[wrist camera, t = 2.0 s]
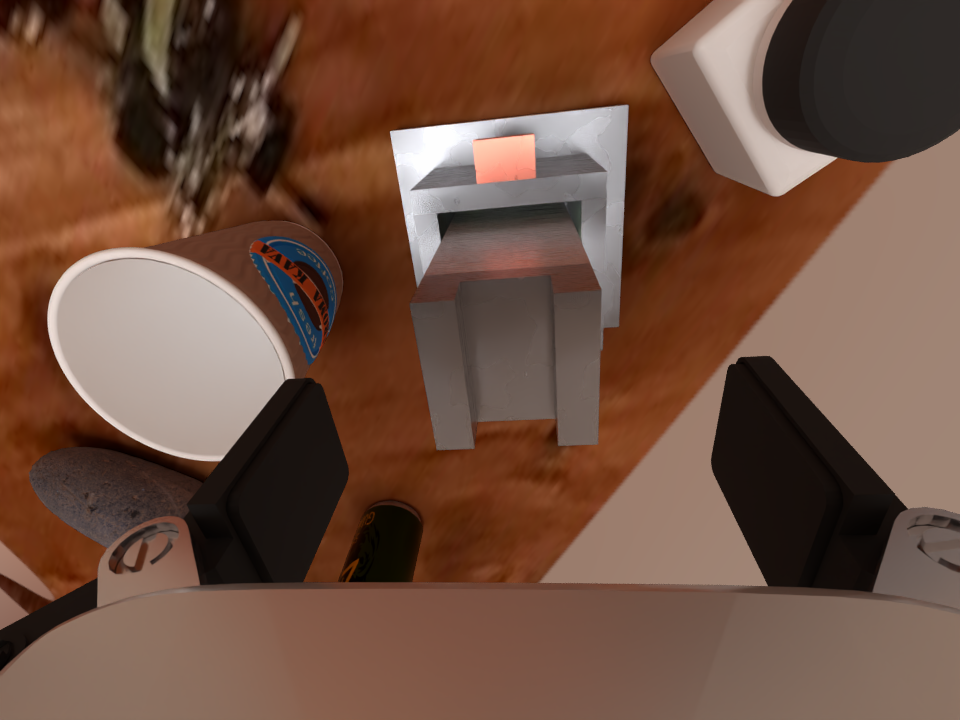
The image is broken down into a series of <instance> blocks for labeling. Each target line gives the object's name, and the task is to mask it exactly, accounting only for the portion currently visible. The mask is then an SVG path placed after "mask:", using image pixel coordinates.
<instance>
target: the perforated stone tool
mask: <svg viewBox="0 0 960 720" xmlns="http://www.w3.org/2000/svg"><path fill="white" fill-rule="evenodd" d="M29 475H30V476H29V477H30V482H31V485H32V487H33V489H34V491H35V493H36V494H37V495H38V497H39V499H40V500H41V501H42V502H43V504H44V505H45V506H46V507H47V508H48V509H49V510H50V511H51V512H52V513H54V514H55V515H57V516H58V517H59V518H60V519H61V520H63V521H64V522H65V523H67V524H68V525H70V526H71V527H73V528H74V529H76V530H77V531H79V532H81V533H82V534H84V535H86V536H87V537H89V538H91V539H92V540H94V541H96V542H98V543H100V544H101V545H103V546H105V547H106V548H109V547H110V546H111V545H112V544H113V543H114V542H115V541H116V540H117V539H118V538H119V537H121V536H122V535H123V534H125V533H126V532H128V531H129V530H131V529H132V528H134V527H136V526H138V525H140V524H142V523H144V522H147V521H149V520H152V519H155V518H159V517H165V516H175V517H179V518H181V519H183V518H184V517H185V516H186V514H187V513H188V512H189V511H190V510H189V509H188V507H187V505H186V504H187V503H188V502H189V500H190V499H191V498H192V497H193V495H194V494H195V493H196V492H197V490H198V489H199V488H200V487H201V485H202V484H203V483H202V482H200V481H198V480H196V479H193V478H191V477H188V476H186V475H183V474H181V473H179V472H176V471H173V470H171V469H168V468H165V467H163V466H161V465H158V464H155V463H152V462H149V461H146V460H143V459H140V458H137V457H133V456H130V455H128V454H124V453H121V452H117V451H113V450H108V449H102V448H94V447H71V448H62V449H59V450H56V451H51V452H49V453H48V454H46V455H44V456H43V457H41V458H40V459H39V460H38V461H37V462H36V463H35V464H34V465H33V466H32V470H31V471H30V472H29Z"/></svg>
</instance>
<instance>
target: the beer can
mask: <svg viewBox="0 0 960 720" xmlns="http://www.w3.org/2000/svg"><path fill="white" fill-rule="evenodd" d="M422 533H423V528H422V524H421V520H420V517H419V516H418V514H417V513H416V511H415V510H413V509H412V508H411V507H410V506H408V505H406V504H403V503H401V502H396V501H382V502H379V503H376V504H374V505H373V506H372V507H370V508H369V509H368V510H367V511H366V512H365V513H364V514H363V516H362V518H361V520H360V523H359V525H358V528H357V531H356V534H355V536H354V539H353V542H352V544H351V547H350V550H349V553H348V555H347V558H346V561H345V564H344V566H343V569H342V572H341V575H340V577H339V580H338V582H412V580H413V575H414V570H415V566H416V561H417V556H418V552H419V547H420V542H421V538H422Z"/></svg>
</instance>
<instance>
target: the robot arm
mask: <svg viewBox="0 0 960 720" xmlns="http://www.w3.org/2000/svg"><path fill="white" fill-rule="evenodd" d="M711 465H712V470H713V473H714V476H715V478H716V480H717V482H718V484H719V486H720V488H721V490H722V492H723V494H724V496H725V498H726V500H727V502H728V505H729V506H730V509H731V511H732V513H733V515H734V517H735V519H736V521H737V523H738V525H739V527H740V529H741V531H742V533H743V535H744V537H745V540H746V541H747V544H748V546H749V548H750V550H751V552H752V554H753V556H754V558H755V560H756V562H757V564H758V566H759V568H760V570H761V572H762V574H763V576H764V578H765V581H766V583H767V585H768V586H734V585H733V586H732V585H675V584H671V585H670V584H589V583H588V584H587V583H438V582H303V581H304V579H305V577H306V574H307V572H308V570H309V567H310V565H311V563H312V561H313V558H314V556H315V554H316V552H317V549H318V547H319V545H320V542H321V540H322V538H323V536H324V533H325V531H326V529H327V526H328V524H329V522H330V520H331V517H332V515H333V513H334V511H335V508H336V506H337V504H338V501H339V499H340V497H341V495H342V492H343V490H344V488H345V485H346V483H347V480H348V476H349V469H348V464H347V461H346V458H345V455H344V452H343V449H342V446H341V443H340V440H339V436H338V433H337V430H336V427H335V424H334V421H333V418H332V415H331V411H330V408H329V405H328V402H327V399H326V396H325V393H324V390H323V387H322V386H321V384H319V383H315V381H314V380H313V379H312V378H296V379H287V380H285V381H284V382H283V384H282V385H281V386H280V387H279V389H278V390H277V391H276V392H275V394H274V395H273V396H272V397H271V399H270V400H269V401H268V402H267V404H266V405H265V406H264V407H263V409H262V410H261V411H260V413H259V414H258V415H257V416H256V418H255V419H254V420H253V421H252V423H251V424H250V425H249V426H248V428H247V429H246V430H245V431H244V433H243V434H242V435H241V436H240V438H239V439H238V440H237V441H236V443H235V444H234V445H233V446H232V448H231V449H230V450H229V451H228V453H227V454H226V455H225V456H224V458H223V459H222V460H221V462H220V463H219V464H218V465H217V467H216V468H215V469H214V470H213V472H212V473H211V474H210V475H209V477H208V478H207V479H206V480H205V482H204V483H203V484H202V485H201V487H200V488H199V489H198V490H197V492H196V493H195V494H194V495H193V497H192V498H191V499H190V500H189V502H188V503H187V504H186V505H187V507H188V509H189V510H190V511H189V512H188V513H187V514H186V516H185V517H184V518H183V519H181V518H179V517H175V516H165V517H159V518H155V519H152V520H149V521H147V522H144V523H142V524H140V525H138V526H136V527H134V528H132V529H131V530H129V531H128V532H126V533H125V534H123V535H122V536H121V537H119V538H118V539H117V540H116V541H115V542H114V543H113V544H112V545H111V546H110V547H109V548H108V549H107V550H106V552H105V553H104V555H103V557H102V558H101V560H100V563H99V567H98V578H96V579H95V580H93V581H91V582H89V583H87V584H85V585H83V586H81V587H80V588H78V589H76V590H74V591H72V592H70V593H68V594H67V595H65V596H63V597H61V598H59V599H57V600H55V601H54V602H52V603H50V604H48V605H46V606H44V607H42V608H40V609H39V610H37V611H35V612H33V613H31V614H29V615H27V616H26V617H24V618H22V619H20V620H18V621H16V622H14V623H13V624H11V625H9V626H7V627H5V628H3V629H1V630H0V720H960V514H957V513H953V512H949V511H946V510H942V509H935V508H928V507H922V508H910V509H907V507H906V506H905V505H904V504H903V503H902V502H901V501H900V500H899V499H898V497H897V496H896V495H895V493H894V492H893V491H892V490H891V489H890V488H889V487H888V486H887V485H886V483H885V482H884V481H883V480H882V479H881V478H880V477H879V476H878V475H877V474H876V472H875V471H874V470H873V469H872V468H871V467H870V466H869V465H868V464H867V462H866V461H865V460H864V459H863V458H862V457H861V456H860V455H859V454H858V452H857V451H856V450H855V449H854V448H853V447H852V446H851V445H850V444H849V443H848V441H847V440H846V439H845V438H844V437H843V436H842V435H841V434H840V433H839V431H838V430H837V429H836V428H835V427H834V426H833V425H832V424H831V423H830V422H829V420H828V419H827V418H826V417H825V416H824V415H823V414H822V413H821V411H820V410H819V409H818V408H817V407H816V406H815V405H814V404H813V403H812V401H811V400H810V399H809V398H808V397H807V396H806V395H805V394H804V393H803V391H802V390H801V389H800V388H799V387H798V386H797V385H796V384H795V383H794V382H793V380H791V378H790V377H789V376H788V375H787V374H786V373H785V372H784V370H783V369H782V368H781V367H780V366H779V365H778V364H777V363H776V362H775V360H774V359H773V358H771V357H770V356H757V357H741V358H739V359H738V361H737V362H736V364H731V365H730V366H729V367H728V370H727V375H726V381H725V386H724V392H723V397H722V403H721V408H720V413H719V419H718V424H717V429H716V435H715V441H714V446H713V452H712V458H711Z"/></svg>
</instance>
